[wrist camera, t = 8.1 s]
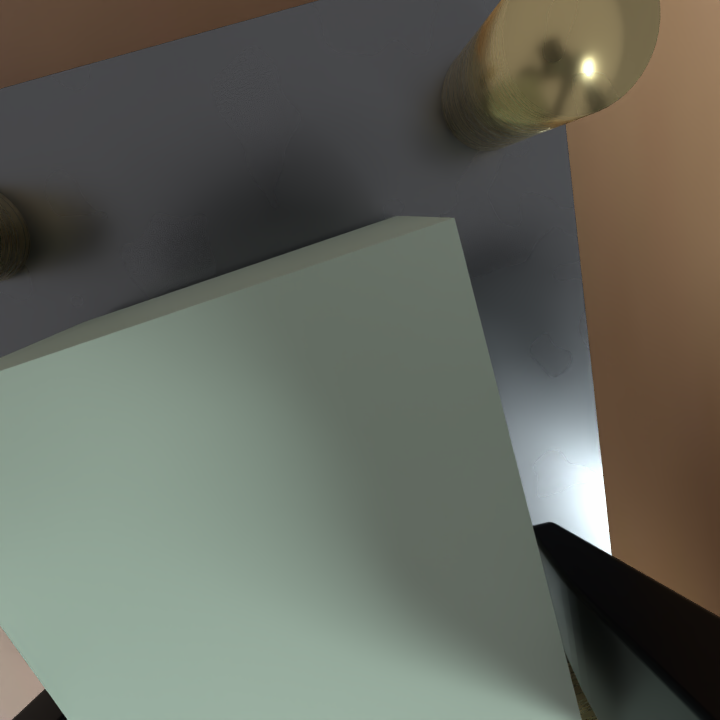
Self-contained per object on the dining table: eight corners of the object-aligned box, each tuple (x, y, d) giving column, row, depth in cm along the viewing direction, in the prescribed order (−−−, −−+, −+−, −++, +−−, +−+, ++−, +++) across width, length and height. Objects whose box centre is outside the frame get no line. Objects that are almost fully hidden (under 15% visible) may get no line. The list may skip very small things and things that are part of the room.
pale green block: (396, 215, 8) (454, 217, 4) (524, 659, 11) (629, 909, 7) (84, 321, 8) (-147, 420, 4) (292, 725, 11) (269, 1002, 7)
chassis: (520, -31, 8) (688, -250, 4) (608, 690, 13) (720, 888, 9) (-94, 139, 8) (-459, 78, 5) (224, 778, 13) (180, 1003, 10)
